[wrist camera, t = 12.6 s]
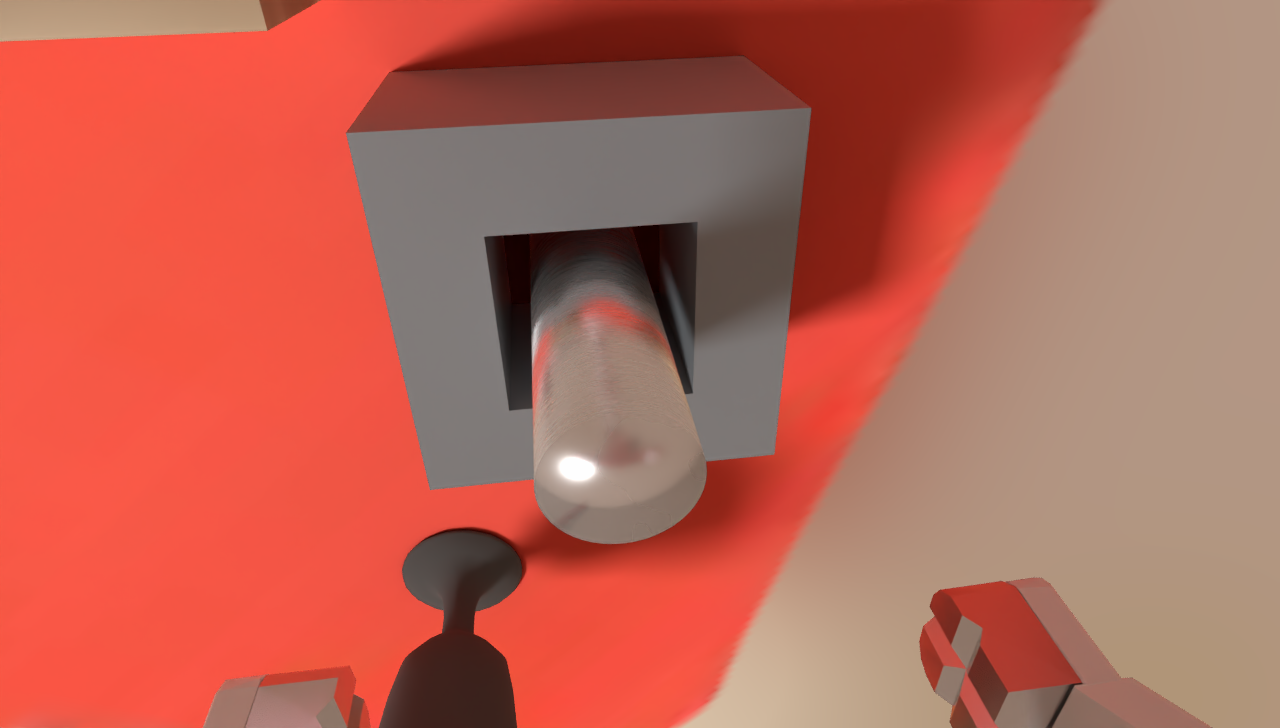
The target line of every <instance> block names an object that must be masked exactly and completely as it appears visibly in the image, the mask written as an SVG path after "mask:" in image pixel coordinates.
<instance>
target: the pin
mask: <svg viewBox="0 0 1280 728" xmlns="http://www.w3.org/2000/svg"><path fill="white" fill-rule="evenodd" d="M530 286H531V342H532V398H533V455H534V492H535V497H536V500H537V503H538V505H539V508H540V509H541V511H542V513H543V514H544V516H545V517H546V518H547V519H548V520H549V521H550V522H551V523H552V524H553V525H554V526H556V527H557V528H558V529H560V530H561V531H563V532H564V533H566V534H568V535H571V536H573V537H575V538H578V539H581V540H584V541H589V542H594V543H602V544H621V543H629V542H635V541H639V540H643V539H646V538H649V537H652V536H655V535H657V534H659V533H661V532H663V531H665V530H667V529H669V528H670V527H672V526H674V525H675V524H676V523H678V522H679V521H680V520H682V519H683V518H684V517H685V516H686V515H687V514H688V513H689V512H690V511H691V510H692V509H693V507H694V506H695V505H696V503H697V502H698V500H699V499H700V496H701V494H702V492H703V490H704V486H705V483H706V477H707V465H706V460H705V456H704V453H703V450H702V447H701V443H700V440H699V437H698V434H697V431H696V428H695V425H694V421H693V418H692V415H691V412H690V409H689V406H688V402H687V399H686V396H685V393H684V390H683V387H682V383H681V380H680V377H679V374H678V371H677V368H676V365H675V361H674V358H673V355H672V352H671V349H670V346H669V342H668V339H667V336H666V333H665V330H664V327H663V323H662V320H661V317H660V314H659V311H658V308H657V305H656V301H655V298H654V295H653V292H652V289H651V286H650V282H649V279H648V276H647V273H646V270H645V267H644V264H643V260H642V257H641V254H640V251H639V248H638V245H637V241H636V238H635V235H634V232H633V229H632V226H631V227H616V228H602V229H587V230H573V231H558V232H544V233H530Z"/></svg>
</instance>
